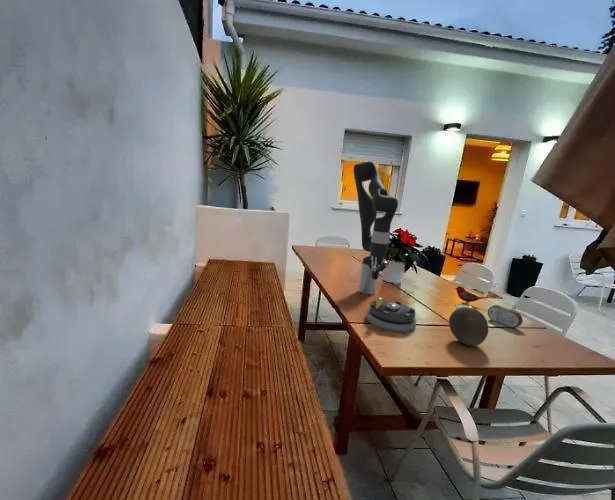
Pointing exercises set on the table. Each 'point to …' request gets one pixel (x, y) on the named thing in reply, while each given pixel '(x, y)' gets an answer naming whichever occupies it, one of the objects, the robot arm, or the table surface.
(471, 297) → the decorative bird figurine
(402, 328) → the base plate
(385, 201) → the robot arm
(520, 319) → the tin
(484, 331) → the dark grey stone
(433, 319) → the table surface
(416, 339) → the table surface
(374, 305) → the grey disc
